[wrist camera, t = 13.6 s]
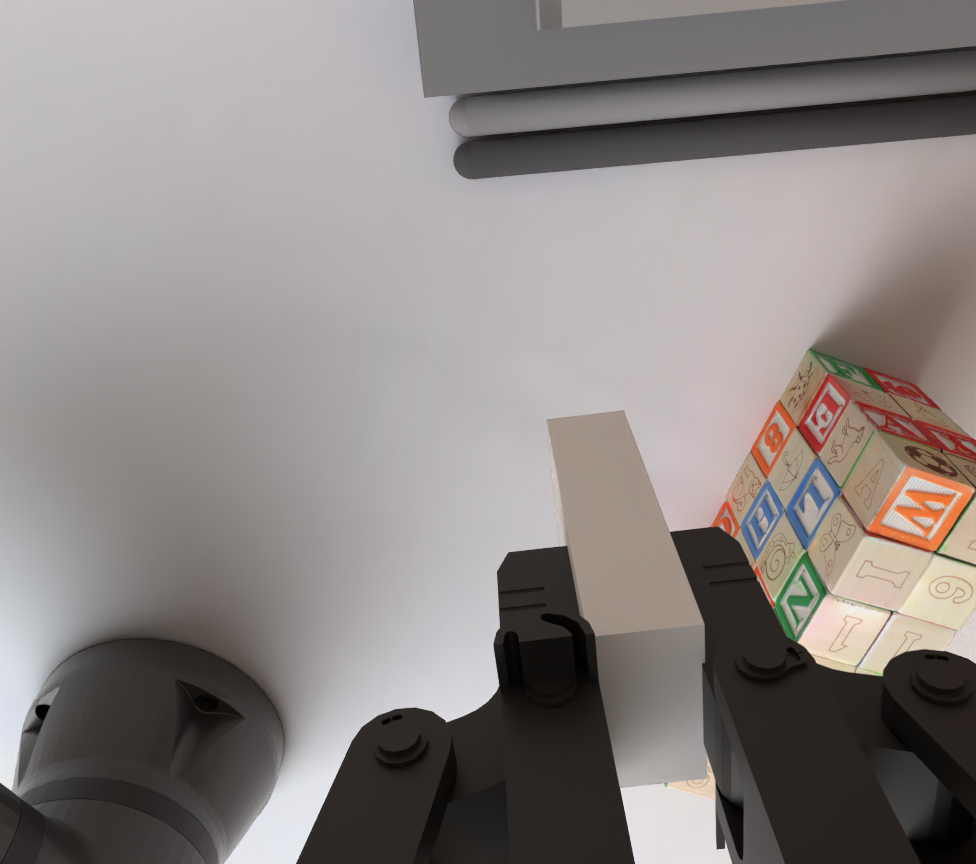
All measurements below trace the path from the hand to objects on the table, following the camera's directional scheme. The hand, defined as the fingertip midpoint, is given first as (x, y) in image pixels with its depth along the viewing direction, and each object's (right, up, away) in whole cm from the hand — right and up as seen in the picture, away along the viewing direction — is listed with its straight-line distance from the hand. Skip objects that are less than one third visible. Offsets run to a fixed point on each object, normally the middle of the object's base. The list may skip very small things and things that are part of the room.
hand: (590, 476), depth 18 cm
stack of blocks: (+13, -5, +32) cm, 35 cm away
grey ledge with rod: (+9, +15, +21) cm, 27 cm away
